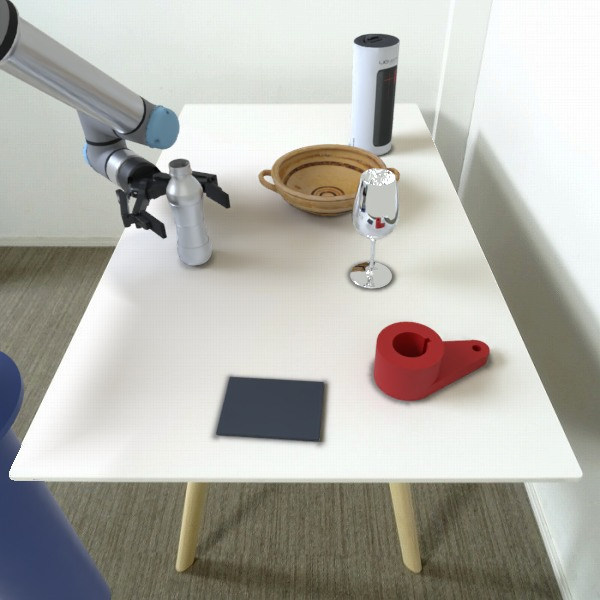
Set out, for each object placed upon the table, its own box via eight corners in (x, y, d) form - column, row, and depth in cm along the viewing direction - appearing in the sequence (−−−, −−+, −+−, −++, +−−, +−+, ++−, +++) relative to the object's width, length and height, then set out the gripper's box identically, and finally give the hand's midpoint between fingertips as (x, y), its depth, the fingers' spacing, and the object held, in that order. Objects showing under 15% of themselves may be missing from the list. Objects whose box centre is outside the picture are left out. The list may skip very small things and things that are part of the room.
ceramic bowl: (391, 174, 128) (394, 142, 123) (403, 233, 110) (407, 198, 104) (264, 176, 129) (262, 144, 124) (256, 234, 111) (252, 200, 105)
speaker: (360, 160, 134) (366, 47, 116) (342, 143, 141) (345, 34, 124) (398, 152, 136) (409, 40, 119) (378, 135, 144) (386, 28, 127)
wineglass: (340, 275, 100) (343, 176, 87) (369, 257, 104) (376, 160, 91) (372, 295, 96) (380, 194, 82) (401, 276, 99) (413, 176, 86)
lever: (388, 407, 77) (392, 376, 73) (364, 360, 84) (366, 329, 80) (502, 378, 81) (512, 346, 76) (469, 335, 88) (477, 304, 83)
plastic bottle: (203, 245, 108) (186, 150, 95) (220, 261, 104) (205, 165, 91) (173, 257, 106) (152, 161, 92) (190, 274, 101) (170, 177, 88)
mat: (216, 434, 75) (215, 432, 74) (230, 378, 82) (229, 376, 82) (319, 441, 73) (319, 439, 73) (323, 383, 81) (323, 381, 81)
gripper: (190, 170, 117) (253, 207, 105) (81, 215, 104) (139, 263, 92) (184, 137, 112) (250, 172, 100) (69, 180, 99) (128, 226, 87)
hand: (197, 216), depth 96 cm, fingers open, 13 cm apart
